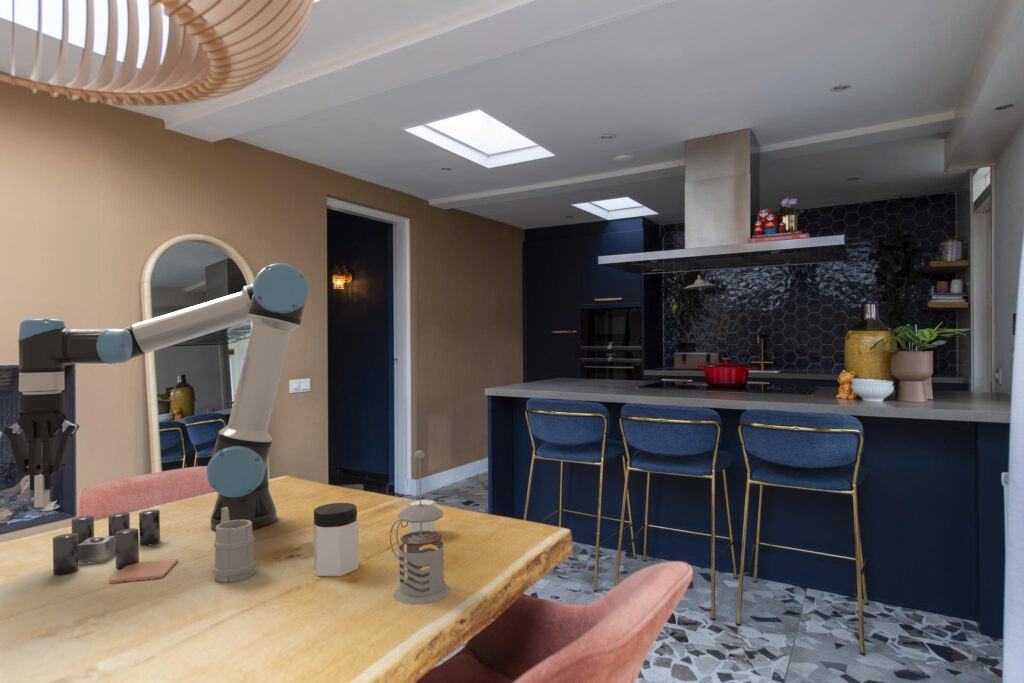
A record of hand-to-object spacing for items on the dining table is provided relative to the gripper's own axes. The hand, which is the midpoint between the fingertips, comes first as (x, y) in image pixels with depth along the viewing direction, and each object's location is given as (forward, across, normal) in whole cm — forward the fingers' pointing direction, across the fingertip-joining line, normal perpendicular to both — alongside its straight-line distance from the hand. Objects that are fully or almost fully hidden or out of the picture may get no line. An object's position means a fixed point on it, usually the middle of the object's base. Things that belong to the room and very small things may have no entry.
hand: (42, 505), depth 123 cm
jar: (+11, -60, +21) cm, 65 cm away
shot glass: (+11, -78, +3) cm, 79 cm away
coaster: (+12, -24, +12) cm, 29 cm away
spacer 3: (+12, -12, -8) cm, 18 cm away
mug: (+12, -40, +17) cm, 45 cm away
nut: (+12, -10, 0) cm, 16 cm away
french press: (+11, -76, +36) cm, 84 cm away
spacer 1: (+12, -8, +7) cm, 16 cm away
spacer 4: (+12, -18, +7) cm, 23 cm away
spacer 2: (+12, -4, -7) cm, 15 cm away
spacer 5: (+12, -18, -8) cm, 23 cm away
